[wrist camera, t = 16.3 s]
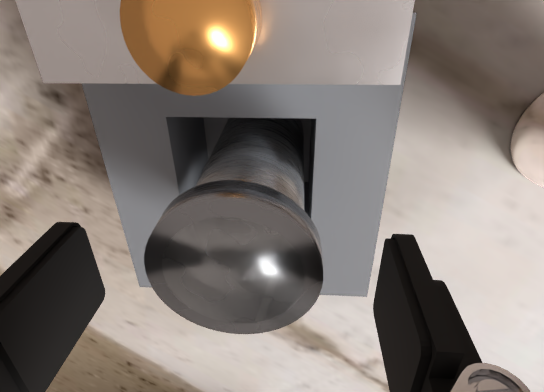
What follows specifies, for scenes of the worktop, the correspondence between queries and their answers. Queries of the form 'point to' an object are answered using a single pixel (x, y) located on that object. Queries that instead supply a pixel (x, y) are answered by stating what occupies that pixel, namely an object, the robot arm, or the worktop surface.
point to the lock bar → (218, 42)
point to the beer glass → (530, 142)
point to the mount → (255, 104)
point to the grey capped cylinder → (241, 234)
